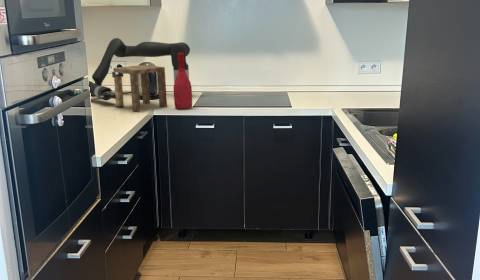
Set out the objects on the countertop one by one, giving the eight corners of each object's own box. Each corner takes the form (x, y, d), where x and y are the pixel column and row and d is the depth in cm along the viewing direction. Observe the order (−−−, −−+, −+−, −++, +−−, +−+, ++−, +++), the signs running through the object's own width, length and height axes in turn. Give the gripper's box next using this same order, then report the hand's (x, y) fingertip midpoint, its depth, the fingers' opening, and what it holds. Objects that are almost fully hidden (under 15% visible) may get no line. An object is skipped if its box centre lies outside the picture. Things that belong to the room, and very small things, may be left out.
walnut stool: (147, 102, 281) (144, 64, 276) (167, 106, 267) (164, 67, 261) (114, 107, 267) (111, 68, 262) (133, 112, 253) (130, 70, 247)
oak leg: (121, 106, 270) (118, 73, 265) (124, 107, 268) (121, 74, 263) (116, 107, 268) (113, 74, 263) (118, 108, 266) (116, 74, 261)
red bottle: (196, 107, 264) (193, 52, 256) (185, 110, 256) (182, 53, 248) (181, 105, 269) (179, 51, 261) (170, 108, 261) (167, 53, 253)
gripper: (92, 87, 275) (106, 92, 262) (113, 85, 283) (128, 89, 271) (93, 100, 277) (107, 105, 265) (114, 97, 285) (128, 102, 273)
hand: (117, 97), depth 268 cm, fingers closed
